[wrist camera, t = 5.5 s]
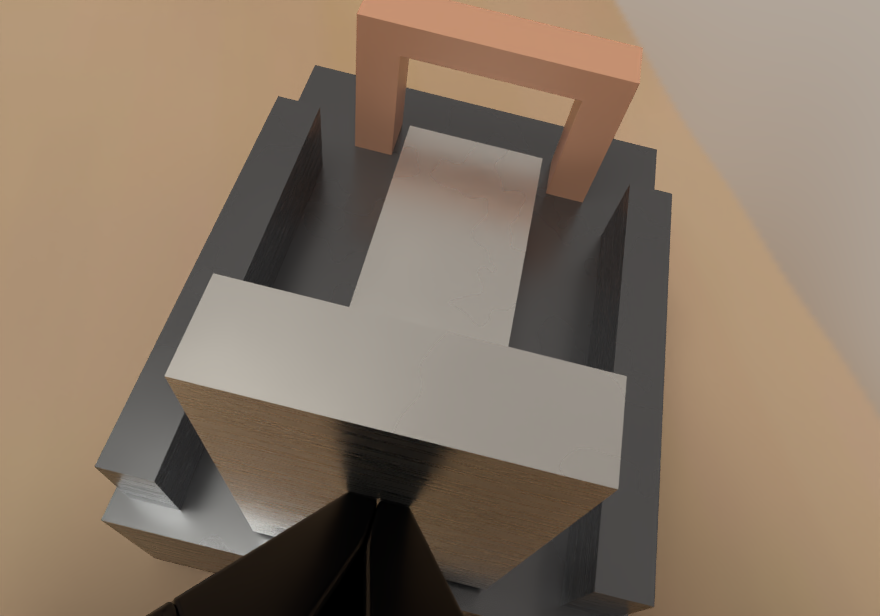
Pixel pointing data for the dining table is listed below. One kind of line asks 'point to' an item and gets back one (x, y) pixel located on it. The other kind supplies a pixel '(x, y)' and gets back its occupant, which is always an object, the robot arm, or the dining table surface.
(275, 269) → the grey walled tray
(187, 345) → the tapered wooden notched block
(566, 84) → the lug
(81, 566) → the dining table surface
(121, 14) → the dining table surface
